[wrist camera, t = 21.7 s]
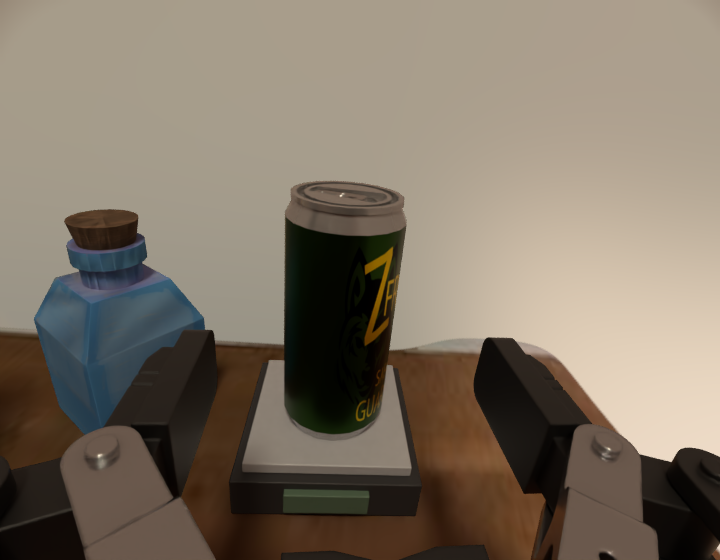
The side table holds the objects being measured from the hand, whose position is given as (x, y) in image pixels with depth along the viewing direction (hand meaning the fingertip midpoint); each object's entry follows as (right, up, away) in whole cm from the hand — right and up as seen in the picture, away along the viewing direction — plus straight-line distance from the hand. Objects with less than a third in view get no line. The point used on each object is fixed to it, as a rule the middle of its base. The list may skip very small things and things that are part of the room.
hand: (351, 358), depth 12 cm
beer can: (-1, -5, +10) cm, 12 cm away
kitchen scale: (-2, -7, +12) cm, 14 cm away
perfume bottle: (-14, -6, +13) cm, 20 cm away
